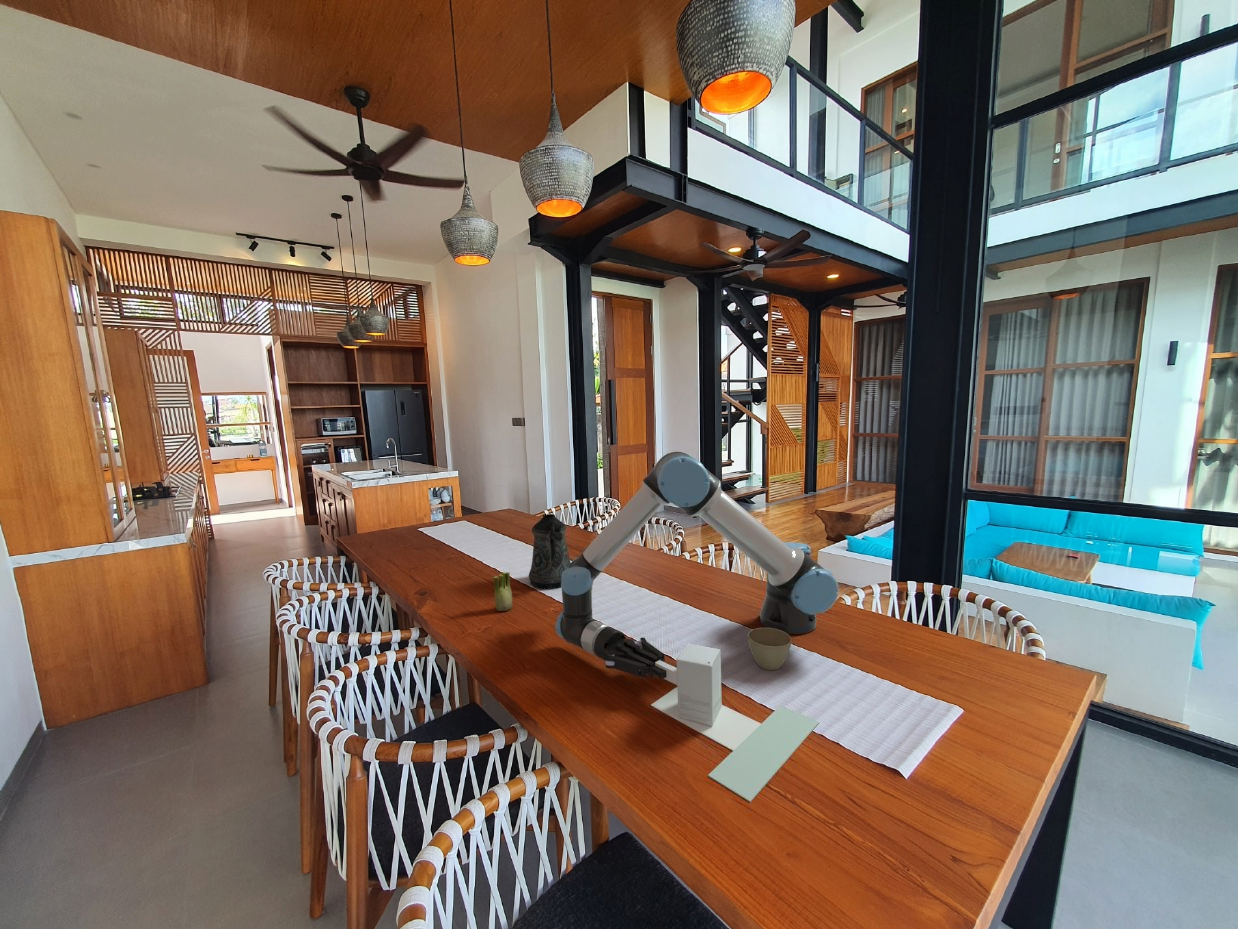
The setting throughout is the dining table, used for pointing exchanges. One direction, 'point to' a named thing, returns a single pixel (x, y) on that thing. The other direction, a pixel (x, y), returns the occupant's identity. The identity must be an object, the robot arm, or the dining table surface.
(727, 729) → the t mat
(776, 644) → the flower pot
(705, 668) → the supplement box
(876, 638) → the dining table surface
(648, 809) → the dining table surface
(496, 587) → the fennel bulb
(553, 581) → the beer stein
